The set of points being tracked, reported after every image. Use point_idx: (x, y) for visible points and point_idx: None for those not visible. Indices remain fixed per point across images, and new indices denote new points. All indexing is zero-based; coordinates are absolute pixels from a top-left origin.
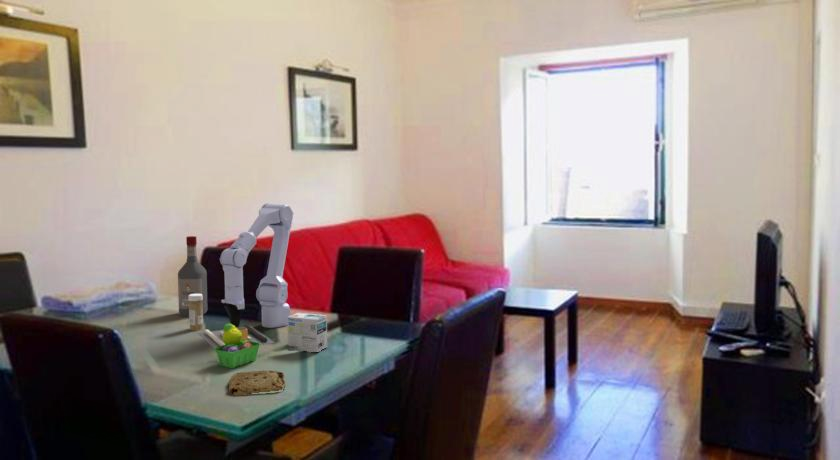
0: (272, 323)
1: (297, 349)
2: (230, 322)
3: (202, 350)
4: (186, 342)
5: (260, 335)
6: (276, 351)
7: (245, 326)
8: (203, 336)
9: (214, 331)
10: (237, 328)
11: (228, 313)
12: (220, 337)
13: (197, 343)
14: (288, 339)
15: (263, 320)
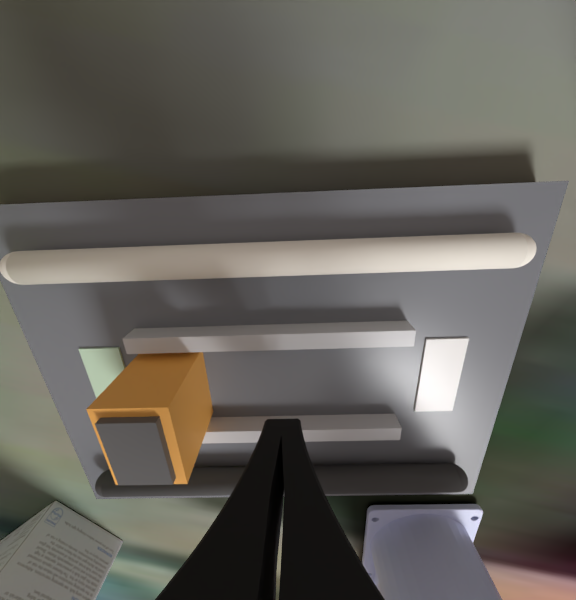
0: (385, 575)
1: (23, 525)
2: (291, 445)
3: (173, 137)
4: (465, 58)
5: (167, 489)
6: (43, 464)
7: (429, 478)
8: (432, 202)
9: (516, 307)
10: (127, 440)
11: (291, 544)
12: (329, 306)
13: (380, 143)
14: (9, 557)
15: (434, 571)
